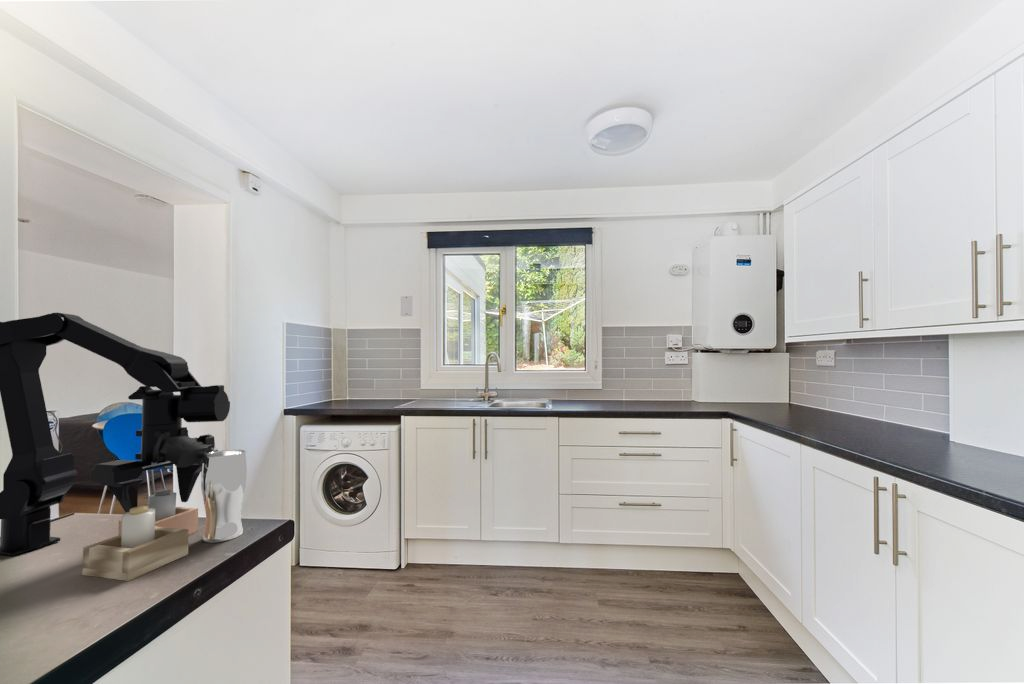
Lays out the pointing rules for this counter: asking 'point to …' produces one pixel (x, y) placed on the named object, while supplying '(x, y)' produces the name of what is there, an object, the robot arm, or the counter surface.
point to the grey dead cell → (163, 504)
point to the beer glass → (223, 493)
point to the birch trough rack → (134, 555)
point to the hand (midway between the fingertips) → (159, 509)
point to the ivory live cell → (138, 527)
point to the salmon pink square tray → (177, 520)
